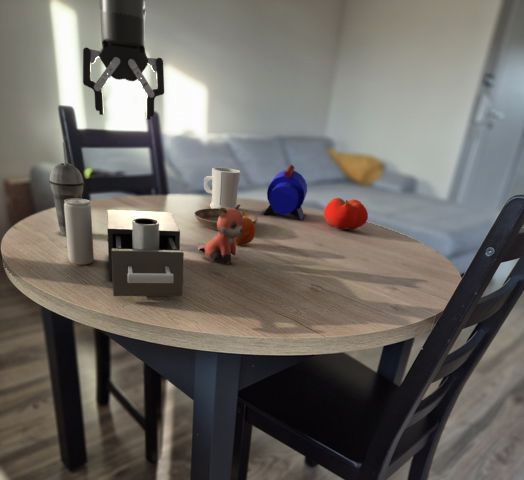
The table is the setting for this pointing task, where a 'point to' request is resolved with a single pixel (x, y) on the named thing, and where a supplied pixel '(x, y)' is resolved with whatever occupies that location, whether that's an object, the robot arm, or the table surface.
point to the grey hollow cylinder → (145, 234)
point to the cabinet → (123, 225)
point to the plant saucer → (215, 217)
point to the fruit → (246, 232)
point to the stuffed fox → (224, 236)
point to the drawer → (147, 268)
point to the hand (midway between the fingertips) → (125, 117)
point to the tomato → (345, 214)
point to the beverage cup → (65, 187)
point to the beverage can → (79, 231)
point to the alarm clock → (287, 193)
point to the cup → (223, 187)
